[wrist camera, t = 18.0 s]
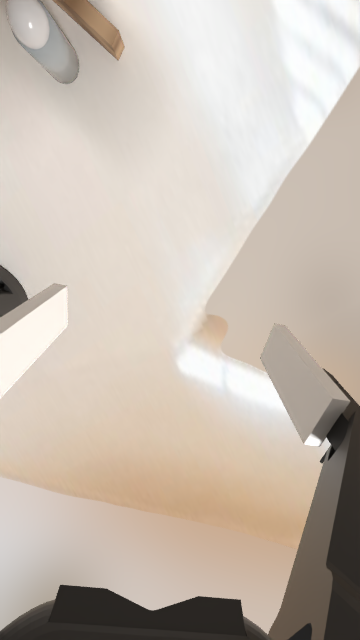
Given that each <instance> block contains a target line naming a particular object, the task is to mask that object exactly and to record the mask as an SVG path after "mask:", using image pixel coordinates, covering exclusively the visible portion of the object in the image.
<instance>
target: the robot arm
mask: <svg viewBox="0 0 360 640" xmlns="http://www.w3.org/2000/svg"><path fill="white" fill-rule="evenodd" d="M67 326H68V306H67V286H65V285H60V284H53V285H51V286H50V287H48V288H46V289H45V290H43V291H42V292H40V293H38V294H37V295H35V296H34V297H32V298H31V299H29V300H28V298H27V295H26V293H25V291H24V289H23V288H22V286H21V285H20V283H19V282H18V281H17V280H16V279H15V278H14V277H13V276H12V275H11V274H10V273H9V272H8V271H6V270H5V269H4V268H2V267H1V266H0V398H1V397H2V396H3V395H4V394H5V393H6V392H7V391H8V390H9V389H10V388H11V386H12V385H13V384H14V383H15V382H16V381H17V380H18V379H19V378H20V377H21V376H22V375H23V374H24V372H25V371H26V370H27V369H28V368H29V367H30V366H31V365H32V364H33V363H34V362H35V361H36V359H37V358H38V357H39V356H40V355H41V354H42V353H43V352H44V351H45V350H46V349H47V348H48V347H49V345H50V344H51V343H52V342H53V341H54V340H55V339H56V338H57V337H58V336H59V335H60V334H61V333H62V331H63V330H64V329H65V328H66V327H67ZM260 359H261V361H262V363H263V365H264V367H265V369H266V371H267V373H268V375H269V377H270V379H271V381H272V383H273V385H274V387H275V389H276V391H277V393H278V394H279V396H280V398H281V400H282V402H283V404H284V406H285V408H286V410H287V412H288V414H289V416H290V418H291V420H292V422H293V424H294V426H295V428H296V430H297V432H298V434H299V436H300V438H301V440H302V441H303V443H304V444H305V445H313V446H321V444H322V443H323V441H324V440H325V438H326V437H327V439H328V440H329V442H330V443H331V446H330V447H329V449H328V450H327V452H326V453H325V454H324V456H323V457H322V459H321V460H320V462H321V463H323V462H324V463H323V467H322V470H321V473H320V477H319V480H318V483H317V487H316V490H315V494H314V497H313V500H312V504H311V507H310V511H309V514H308V517H307V521H306V524H305V527H304V531H303V534H302V538H301V541H300V544H299V548H298V551H297V555H296V558H295V561H294V565H293V568H292V571H291V575H290V578H289V582H288V585H287V588H286V592H285V595H284V599H283V602H282V605H281V608H280V611H279V613H278V616H277V618H276V620H275V621H274V623H273V625H272V627H271V629H270V631H269V634H268V635H267V634H266V633H265V632H264V631H263V630H262V629H261V628H259V627H258V626H257V625H256V624H254V623H253V622H251V621H250V620H248V619H247V618H245V617H244V616H243V614H242V607H241V600H236V599H224V598H223V599H222V598H212V597H200V596H198V597H195V598H192V599H189V600H186V601H183V602H180V603H177V604H174V605H171V606H167V607H165V608H162V609H159V610H154V611H151V610H148V609H146V608H144V607H142V606H140V605H138V604H136V603H134V602H132V601H129V600H128V599H126V598H124V597H122V596H120V595H118V594H116V593H114V592H112V591H110V590H108V589H104V588H92V587H91V588H90V587H80V586H68V585H60V587H59V590H58V593H57V596H56V599H55V600H52V601H49V602H46V603H44V604H41V605H39V606H37V607H35V608H33V609H31V610H30V611H28V612H26V613H24V614H23V615H21V616H19V617H18V618H17V619H15V620H14V621H13V622H12V623H10V624H9V625H7V626H6V627H5V628H4V629H2V630H1V631H0V640H360V406H359V405H358V404H357V403H356V402H355V401H354V399H353V398H352V397H351V396H350V395H349V394H348V392H347V391H346V390H344V388H343V387H342V386H341V385H340V384H339V383H338V381H337V380H336V379H335V378H334V377H333V376H332V375H331V374H330V373H329V372H327V371H326V370H325V369H323V368H321V367H320V365H319V364H318V363H317V362H316V361H315V360H314V358H313V357H312V356H311V355H310V354H309V353H308V351H307V350H306V349H305V348H304V347H303V345H302V344H301V343H300V342H299V341H298V340H297V338H296V337H295V336H294V335H293V334H292V333H291V331H290V330H289V329H288V328H287V327H286V326H285V325H280V324H274V325H273V328H272V330H271V333H270V335H269V337H268V340H267V342H266V345H265V347H264V350H263V352H262V354H261V357H260Z"/></svg>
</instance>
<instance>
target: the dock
mask: <svg viewBox="0 0 360 640" xmlns="http://www.w3.org/2000/svg"><path fill="white" fill-rule="evenodd" d="M53 1H54V2H55V3H56V4H57V5H58V6H60V7H61V8H62V9H63V10H64V11H65V12H66V13H67V14H68V15H69V16H70V17H71V18H73V19H74V20H75V21H76V22H77V23H78V24H79V25H80V26H81V27H82V28H83V29H84V30H86V31H87V32H88V33H89V34H90V35H91V36H92V37H93V38H94V39H95V40H96V41H98V42H99V43H100V44H101V45H102V46H103V47H104V48H105V49H106V50H107V51H108V52H109V53H111V54H112V55H113V56H114V57H115V58H116V59H117V60H119V58H120V56H121V54H122V51H123V49H124V44H123V41H122V38H121V36H120V33H119V30H117V29H116V28H115V27H114V26H113V25H112V24H111V23H110V22H109V21H108V20H107V19H106V18H105V17H104V16H103V15H102V14H101V13H100V12H99V11H98V10H97V9H96V8H94V7H93V6H92V5H91V4H90V3H89V2H88V1H87V0H53Z"/></svg>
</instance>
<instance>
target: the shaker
mask: <svg viewBox="0 0 360 640" xmlns="http://www.w3.org/2000/svg"><path fill="white" fill-rule="evenodd" d="M6 12H7V17H8V21H9V24H10V26H11V29H12V32H13V34H14V36H15V38H16V39H17V41H18V42H19V43H20V44H21V46H22V47H23V48H24V49H25V50H26V51H27V52H28V53H29V54H30V55H32V56H33V57H34V58H35V59H36V60H37V61H38V62H39V63H40V64H41V65H42V66H43V67H44V68H45V69H46V70H47V71H48V72H49V73H50V74H51V75H52V76H53V77H54V78H55V79H56V80H57V81H59V82H60V83H63V84H68V83H71V82H73V81H74V80H75V79H76V77H77V75H78V72H79V60H78V56H77V54H76V52H75V50H74V48H73V47H72V45H71V44H70V42H69V41H68V40H67V38H66V37H65V35H64V34H63V32H62V31H61V29H60V28H59V27H58V25H57V24H56V22H55V21H54V19H53V18H52V16H51V15H50V14H49V12H48V11H47V9H46V8H45V6H44V5H43V3H42V2H41V1H40V0H7V5H6Z"/></svg>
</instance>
